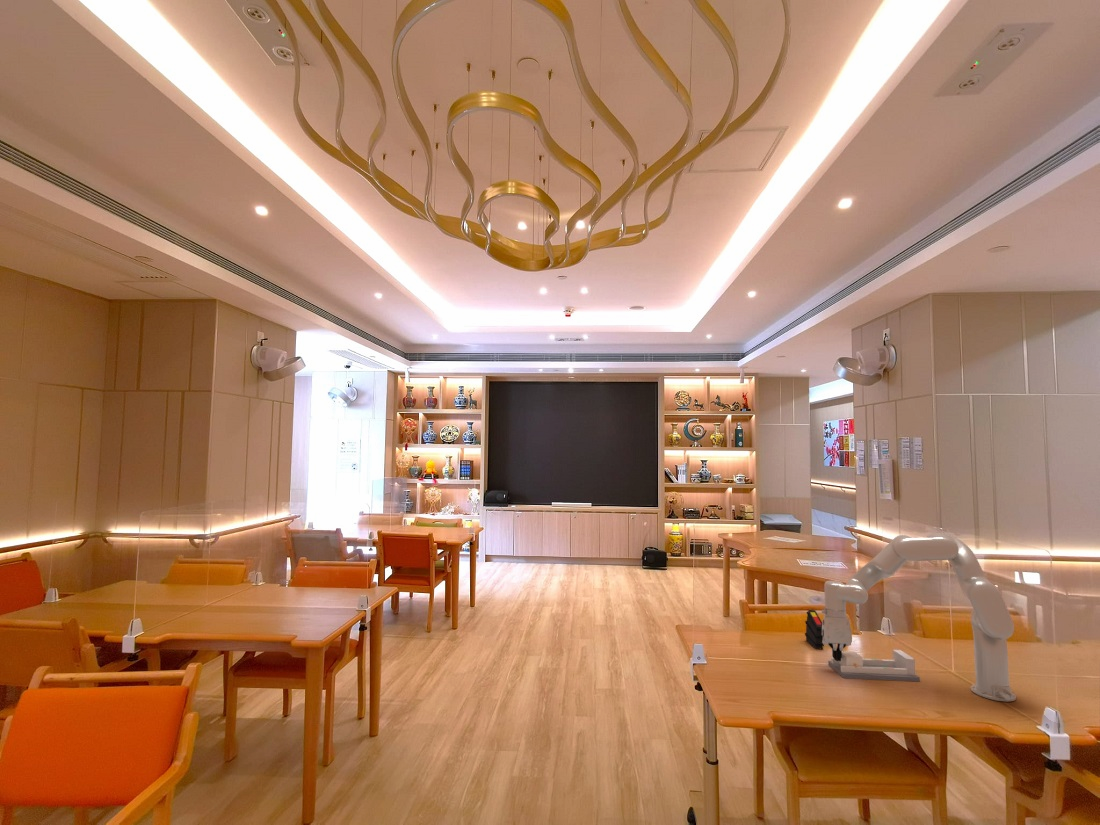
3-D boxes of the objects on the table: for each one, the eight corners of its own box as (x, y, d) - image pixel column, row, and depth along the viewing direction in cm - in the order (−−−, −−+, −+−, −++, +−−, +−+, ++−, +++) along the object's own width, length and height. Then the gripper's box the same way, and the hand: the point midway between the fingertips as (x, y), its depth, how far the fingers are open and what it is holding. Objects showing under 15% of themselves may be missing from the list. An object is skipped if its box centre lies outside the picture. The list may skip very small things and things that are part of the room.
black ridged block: (810, 635, 256) (815, 609, 250) (822, 657, 243) (827, 630, 238) (802, 635, 256) (807, 609, 250) (813, 656, 244) (819, 630, 238)
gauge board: (919, 681, 208) (919, 661, 208) (843, 678, 211) (842, 658, 211) (900, 667, 222) (899, 648, 222) (828, 664, 224) (827, 645, 225)
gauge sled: (865, 673, 211) (865, 659, 212) (849, 672, 212) (849, 659, 212) (852, 662, 222) (852, 649, 223) (837, 661, 223) (836, 649, 223)
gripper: (819, 615, 216) (821, 662, 215) (859, 616, 215) (861, 664, 213) (812, 609, 224) (814, 655, 222) (850, 610, 222) (852, 657, 221)
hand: (837, 659), depth 218 cm, fingers closed
